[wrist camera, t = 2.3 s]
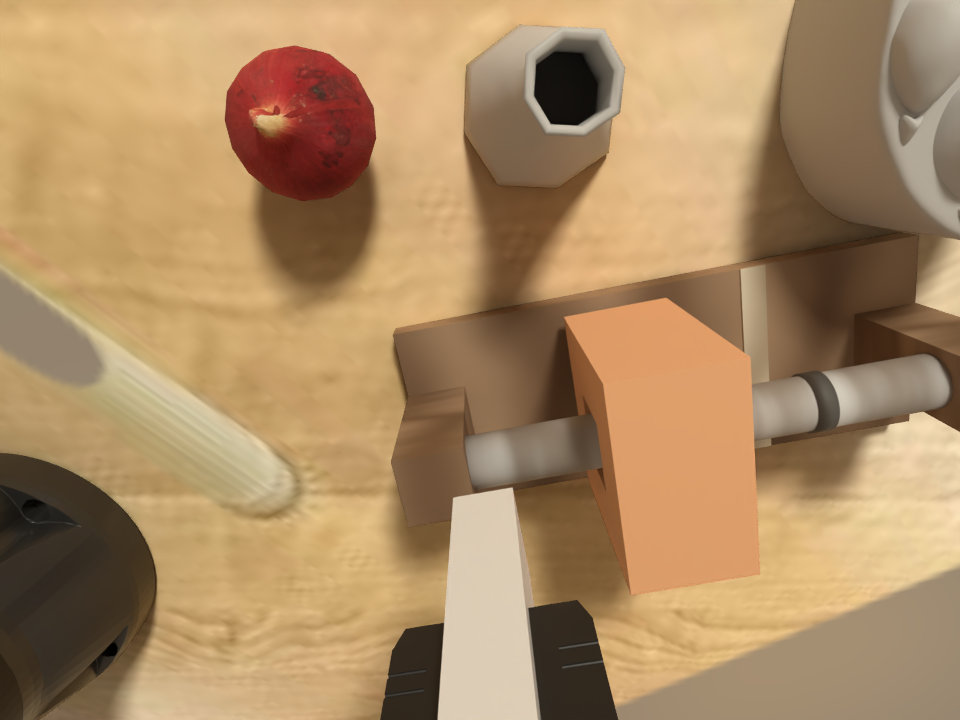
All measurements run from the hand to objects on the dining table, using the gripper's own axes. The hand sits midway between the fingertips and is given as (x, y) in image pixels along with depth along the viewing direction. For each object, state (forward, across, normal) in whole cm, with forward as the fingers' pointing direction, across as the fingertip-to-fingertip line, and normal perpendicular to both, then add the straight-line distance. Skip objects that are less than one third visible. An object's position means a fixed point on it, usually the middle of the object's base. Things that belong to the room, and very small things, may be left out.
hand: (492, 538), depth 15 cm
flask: (+17, +5, +11) cm, 21 cm away
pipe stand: (+17, +9, -3) cm, 19 cm away
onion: (+17, -5, +12) cm, 21 cm away
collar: (+15, +7, -3) cm, 17 cm away
